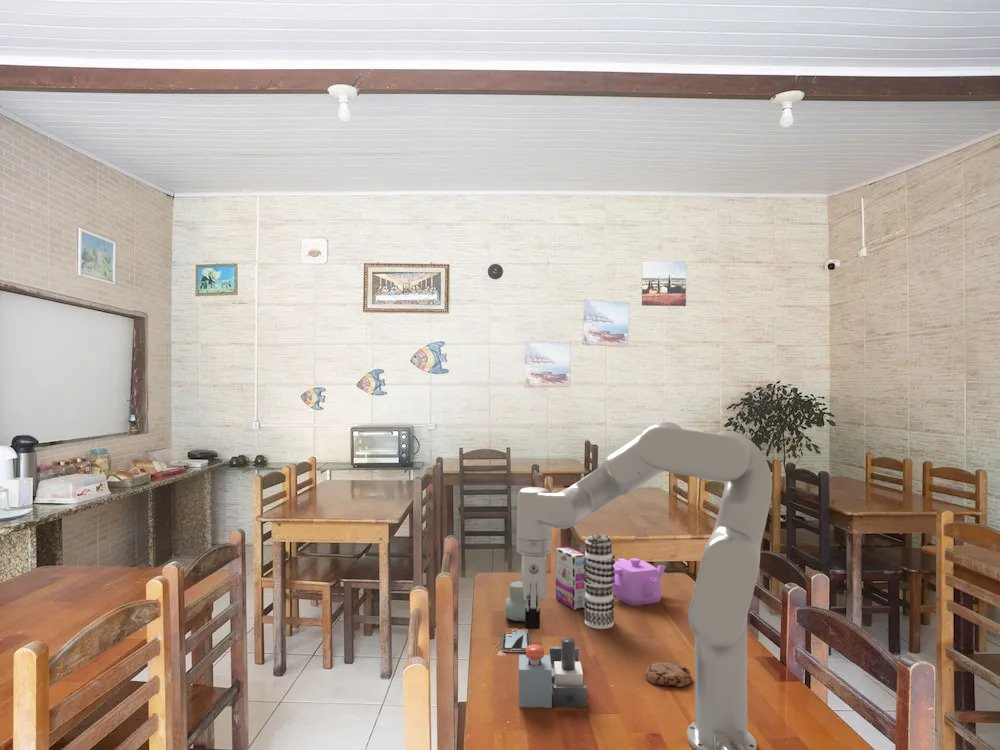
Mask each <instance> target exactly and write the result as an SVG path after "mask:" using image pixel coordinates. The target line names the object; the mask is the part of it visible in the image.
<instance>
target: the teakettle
mask: <svg viewBox="0 0 1000 750" xmlns="http://www.w3.org/2000/svg"><path fill="white" fill-rule="evenodd" d="M612 567H614V568H615V570H614V571H613V573H614V574H615V575H614V576H613V577H612V579H613V580H614V584H613V585H612V592H613V596H614V597H616V598H617V599H618V598H619V599H618V600H620V601H621V600H622V601H621V602H623V603H625V604H626V603H627V605H628V604H629V606H631V605H636V606H642V604H645V605H651V603H652V604H658V603H660V602H661V599H662V585H661V579H662V577H663V575H664V572H665V569H666V566H665V565H662V564H658V565H657V567H655V566H654V565H652V564H651V563H649V562H647V561H645V560H642V559H640V558H637V557H636V558H635V557H632V558H630V559H625V558H617V561H616V560H615V564H612ZM657 602H658V603H657Z"/></svg>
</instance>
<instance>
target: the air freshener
mask: <svg viewBox="0 0 1000 750" xmlns="http://www.w3.org/2000/svg"><path fill="white" fill-rule="evenodd" d="M526 603H527V600H526V601H525V600H524V595H523V585H522V581H521V580H517V581H512V582H511V583H510V584H509V596H508V597H507V598H506V599H505V618H507V619H509V620H511V621H514V622H518V621H523V622H525V608H527V607H526Z"/></svg>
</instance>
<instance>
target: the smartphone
mask: <svg viewBox="0 0 1000 750" xmlns="http://www.w3.org/2000/svg"><path fill="white" fill-rule="evenodd" d="M519 629H520V630H519ZM512 631H514V630H512ZM525 631H526V630H524V629H522V628H517V633H516V632H512V633H513V634H503V633H502V640H501V641H502V642H501V650H502V649H503V650H508V651H510V650H512V651H526V647H527V646H529V645H531V643H530V642H531V641H530V639H531V638H530V630H529V631H528V632H529V633H527V632H525ZM507 633H508V632H507ZM515 634H516V635H515ZM503 635H506V636H503ZM508 636H512V637H508ZM503 638H505V639H503Z"/></svg>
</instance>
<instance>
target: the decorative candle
mask: <svg viewBox="0 0 1000 750" xmlns="http://www.w3.org/2000/svg"><path fill="white" fill-rule="evenodd" d="M584 543H585V551H584V554H585V557H586V558H585V559H584V560H583V564H584V565H583V566H584V567H583V569H585V572H584V576H585V577H584V582H585V583H586V592H585V596H586V597H585V599H584V601H585V604H584V606H585V607H586V608H584V609H583V610H584V611H583V612H584V615H583V618H584V624H585V625H586V626H588V627H590V628H591V629H592V628H593V629H598V630H599V629H600V630H605V629H610V628H612V627H613V626H615V610H614V609H615V604H614V603H615V599H614V594H613V592H612V585H613V584H614V580H613V579H612V577H613V576H614V575H615V574H614V573H613V571H614V570H615V568H614V567H613V565H614V564H615V562H616V560H615V559H616V555H614V554H613V540H611V538H610V537H609V536H607V535H605V534H601V533H600V534H599V533H598V534H597V533H595V534H590V535H589V536H588V537H587V538H586V539H584Z"/></svg>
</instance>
